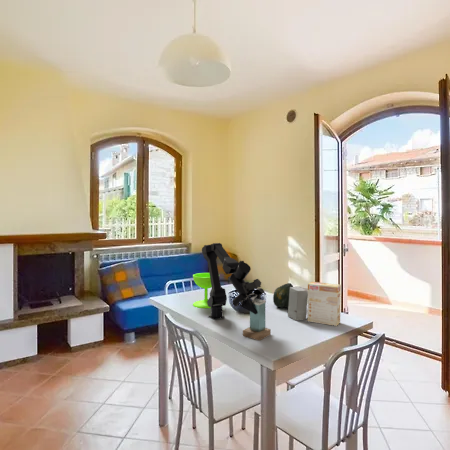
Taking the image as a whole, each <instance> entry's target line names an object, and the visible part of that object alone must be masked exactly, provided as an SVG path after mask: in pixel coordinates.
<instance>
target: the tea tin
mask: <svg viewBox="0 0 450 450" xmlns="http://www.w3.org/2000/svg"><path fill="white" fill-rule="evenodd" d="M260 299H261V298H260ZM260 299H254V300H252V299H251V303H252V304H253V306H254V308H255V309H256V311H257V314H254V313H252V312H251V311H249V327H250V330H253V331H257V332H261V331H262V330H264V329H265V328H266V303H267V302H266V300H264V299H261V300H260Z"/></svg>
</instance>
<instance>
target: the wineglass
mask: <svg viewBox="0 0 450 450" xmlns="http://www.w3.org/2000/svg"><path fill="white" fill-rule="evenodd" d="M192 279H193V282H194V283H195V285H196V286H198V287H199V288H201V289H203V290H204V298H203V299H202V300H197V301H194V302H193V303H192V306H193V307H194V308H196V307H197V309H211V307H209V306H208V305H207V301H208V299H209V296H208V291H209V289H212V286H211V280H210V274H209V272H199V273H195V274H192Z"/></svg>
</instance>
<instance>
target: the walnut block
mask: <svg viewBox="0 0 450 450" xmlns="http://www.w3.org/2000/svg"><path fill="white" fill-rule="evenodd" d="M271 333H272V332H271V328H266V327H265V329H264V330H262V331H261V332H257V331H253V330H250V326H249V327H247V328H244V329H243V330H242V337H246V338H250V339H254V340H257V341H262V340H263V339H266V338H267V337H269V336H271Z"/></svg>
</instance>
